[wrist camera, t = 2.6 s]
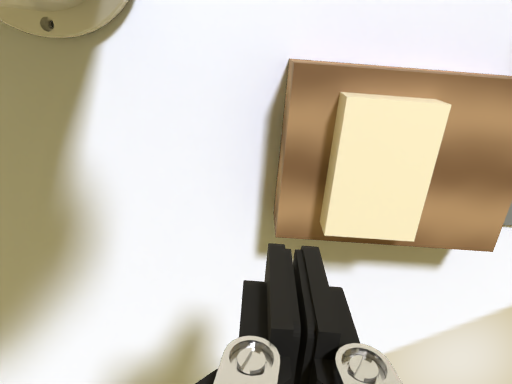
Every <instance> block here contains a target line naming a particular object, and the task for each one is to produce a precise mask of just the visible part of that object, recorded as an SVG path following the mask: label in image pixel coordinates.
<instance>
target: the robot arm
mask: <svg viewBox="0 0 512 384" xmlns="http://www.w3.org/2000/svg"><path fill="white" fill-rule="evenodd" d="M128 1H129V0H0V20H1V21H2V22H4V23H5V24H7V25H9V26H11V27H14V28H16V29H18V30H21V31H23V32H25V33H29V34H33V35H38V36H42V37H53V38H65V37H77V36H81V35H84V34H87V33H91V32H94V31H95V30H97V29H99V28H101V27H102V26H104V25H106V24H108V23H109V22H110V21H111V20H112V19H113V18H114V17H115V16H116V15H118V14H119V13H120V12H121V11H122V9H123V8H124V6H125V5H126V3H127V2H128ZM52 21H53V23H54V29H53V28H52V26H51V22H52ZM196 384H402V382H401V380H400V378H399V376H398V375H397V373H396V371H395V370H394V368H393V366H392V364H391V363H390V361H389V360H388V359H387V357H386V356H385V355H383V354H382V353H381V352H380V351H378V350H377V349H375V348H373V347H371V346H368V345H365V344H360V342H359V338H358V335H357V332H356V329H355V326H354V323H353V320H352V317H351V313H350V310H349V307H348V304H347V301H346V298H345V295H344V291H343V289H342V288H341V287H329V285H328V281H327V277H326V273H325V270H324V266H323V262H322V258H321V255H320V251H319V248H318V247H311V246H302V247H301V250H295V253H294V261H293V262H292V255H291V249H285V245H284V244H270V243H269V244H268V252H267V262H266V272H265V282H260V281H246V280H244V283H243V295H242V308H241V320H240V332H239V338H237V339H235V340H233V341H232V342H230V343H229V344H228V345H227V347H226V348H225V350H224V352H223V355H222V358H221V362H220V365H219V368H218V369H216V370H215V371H213V372H212V373H210V374H209V375H207V376H206V377H205V378H203V379H202V380H200V381H199V382H197V383H196Z"/></svg>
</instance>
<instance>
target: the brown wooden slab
mask: <svg viewBox="0 0 512 384" xmlns="http://www.w3.org/2000/svg"><path fill="white" fill-rule="evenodd" d="M340 92H348V93H361V94H375V95H388V96H401V97H414V98H427V99H437V100H440V101H443V102H445V103H448V104H451V109H450V112H449V116H448V120H447V123H446V127H445V131H444V134H443V138H442V142H441V145H440V149H439V152H438V156H437V160H436V163H435V167H434V171H433V174H432V178H431V182H430V185H429V189H428V192H427V196H426V200H425V203H424V207H423V211H422V214H421V218H420V222H419V225H418V229H417V232H416V236H415V240H414V242H413V241H398V240H383V239H369V238H354V237H339V236H324V233H323V230H322V227H321V224H320V216H321V210H322V204H323V197H324V191H325V185H326V178H327V172H328V166H329V159H330V153H331V146H332V140H333V134H334V127H335V121H336V115H337V108H338V102H339V96H340ZM511 202H512V76H505V75H492V74H479V73H466V72H454V71H441V70H428V69H415V68H402V67H389V66H377V65H364V64H351V63H338V62H325V61H312V60H300V59H289V67H288V77H287V87H286V96H285V106H284V116H283V126H282V136H281V146H280V156H279V165H278V175H277V185H276V195H275V205H274V223H275V235H276V237H282V238H297V239H312V240H326V241H341V242H356V243H371V244H386V245H400V246H415V247H430V248H445V249H460V250H474V251H489V252H493V250H494V247H495V245H496V242H497V239H498V237H499V234H500V231H501V229H502V226H503V223H504V221H505V218H506V215H507V213H508V210H509V207H510V205H511Z"/></svg>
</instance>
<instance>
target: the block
mask: <svg viewBox="0 0 512 384" xmlns="http://www.w3.org/2000/svg"><path fill="white" fill-rule="evenodd" d="M450 109H451V104H448V103H445V102H443V101H440V100H437V99H427V98H414V97H401V96H388V95H375V94H361V93H348V92H340V96H339V102H338V108H337V115H336V121H335V127H334V134H333V140H332V146H331V153H330V159H329V166H328V172H327V178H326V185H325V191H324V197H323V204H322V210H321V216H320V224H321V227H322V230H323V233H324V236H339V237H354V238H369V239H383V240H398V241H413V242H414V240H415V236H416V232H417V229H418V225H419V222H420V218H421V214H422V211H423V207H424V203H425V200H426V196H427V192H428V189H429V185H430V182H431V178H432V174H433V171H434V167H435V163H436V160H437V156H438V152H439V149H440V145H441V142H442V138H443V134H444V131H445V127H446V123H447V120H448V116H449V112H450Z"/></svg>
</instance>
